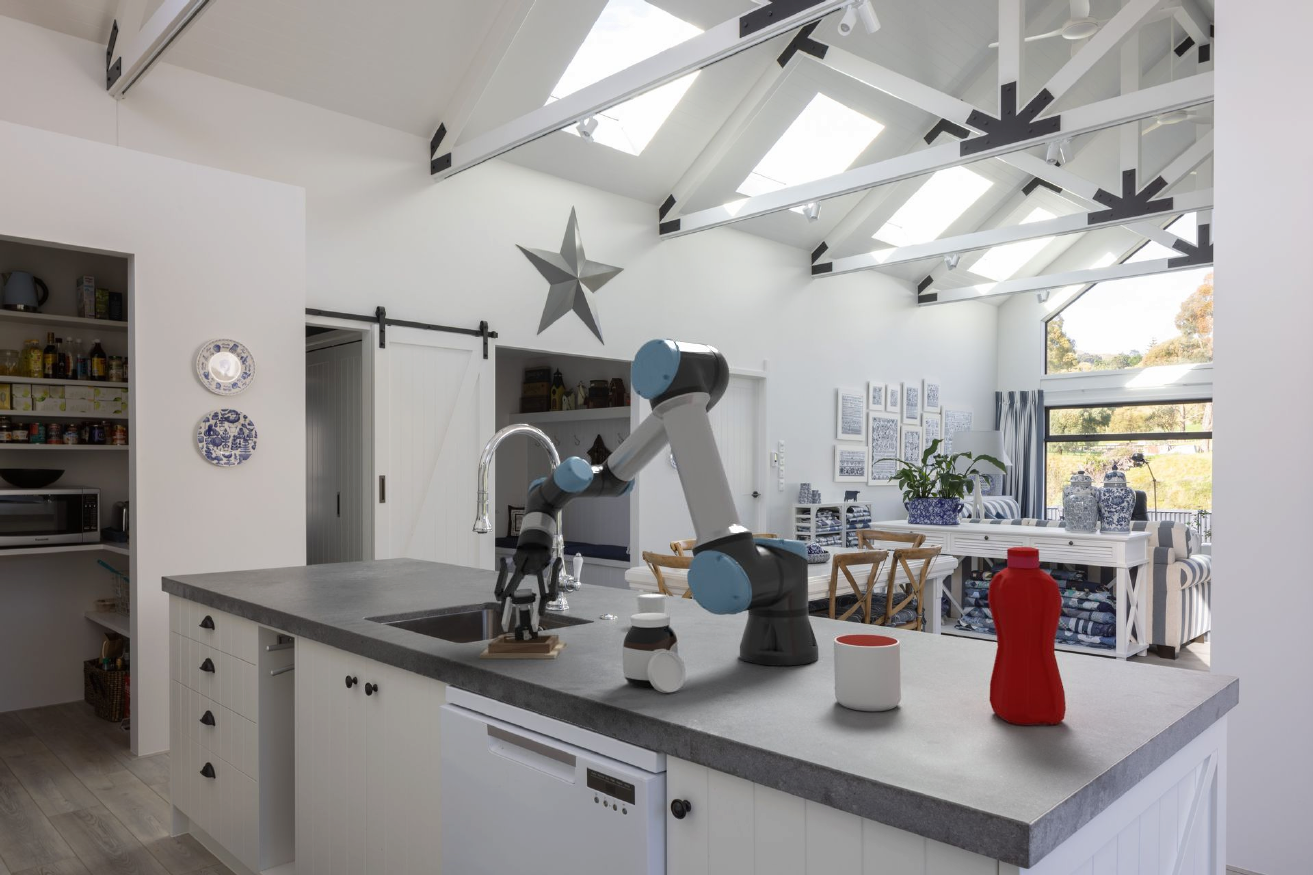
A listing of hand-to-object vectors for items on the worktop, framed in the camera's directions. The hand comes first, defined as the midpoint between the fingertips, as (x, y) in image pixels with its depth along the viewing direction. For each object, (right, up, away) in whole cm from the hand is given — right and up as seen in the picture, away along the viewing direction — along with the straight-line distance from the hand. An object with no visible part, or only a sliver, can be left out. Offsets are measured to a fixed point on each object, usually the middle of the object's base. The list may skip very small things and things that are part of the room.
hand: (519, 627), depth 176 cm
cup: (+61, -4, -39) cm, 72 cm away
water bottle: (+82, -3, -46) cm, 94 cm away
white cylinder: (+26, -6, +30) cm, 41 cm away
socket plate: (0, -6, +3) cm, 7 cm away
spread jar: (+28, -5, -26) cm, 38 cm away
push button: (0, -3, +4) cm, 5 cm away
